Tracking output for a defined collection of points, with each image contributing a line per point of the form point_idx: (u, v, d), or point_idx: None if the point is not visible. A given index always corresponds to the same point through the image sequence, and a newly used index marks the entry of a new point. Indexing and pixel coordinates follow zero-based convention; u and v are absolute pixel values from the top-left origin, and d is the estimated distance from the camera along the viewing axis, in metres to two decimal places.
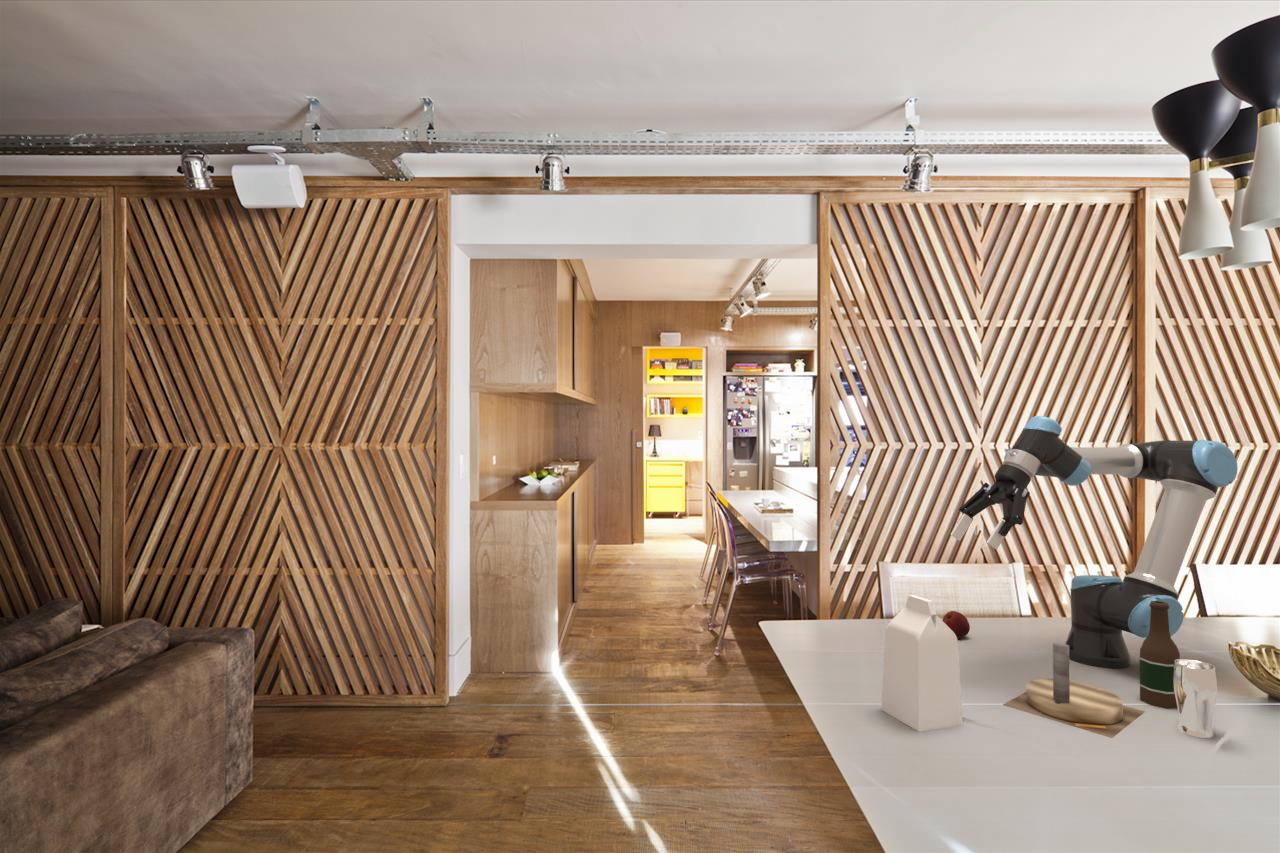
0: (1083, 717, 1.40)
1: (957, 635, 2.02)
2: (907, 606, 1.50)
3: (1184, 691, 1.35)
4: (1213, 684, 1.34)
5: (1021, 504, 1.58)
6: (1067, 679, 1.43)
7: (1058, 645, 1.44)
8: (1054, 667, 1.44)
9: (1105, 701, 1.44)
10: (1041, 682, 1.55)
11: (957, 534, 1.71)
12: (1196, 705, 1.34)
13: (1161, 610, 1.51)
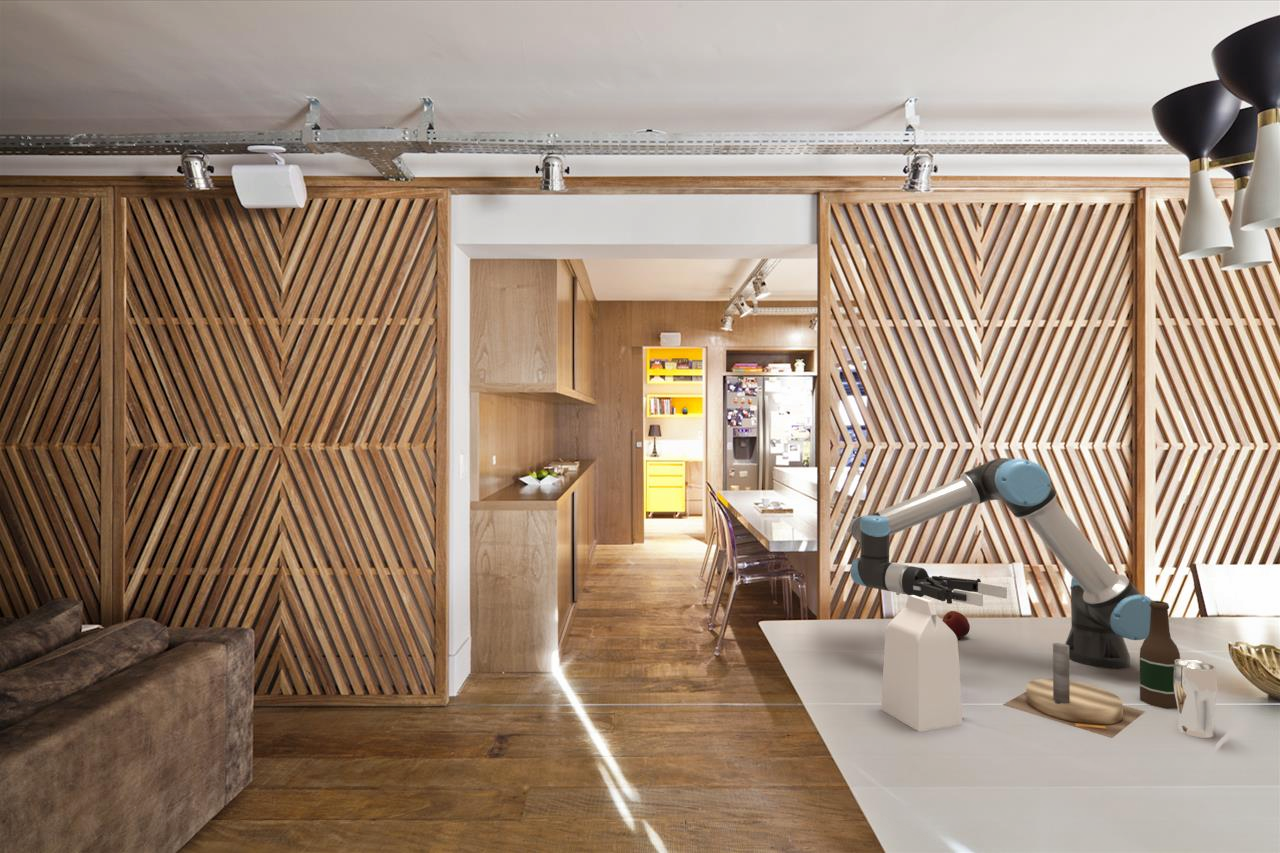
0: (1083, 717, 1.40)
1: (957, 635, 2.02)
2: (907, 606, 1.50)
3: (1184, 691, 1.35)
4: (1213, 684, 1.34)
5: (927, 590, 1.61)
6: (1067, 679, 1.43)
7: (1058, 645, 1.44)
8: (1054, 667, 1.44)
9: (1105, 701, 1.44)
10: (1041, 682, 1.55)
11: (1001, 593, 1.60)
12: (1196, 705, 1.34)
13: (1161, 610, 1.51)
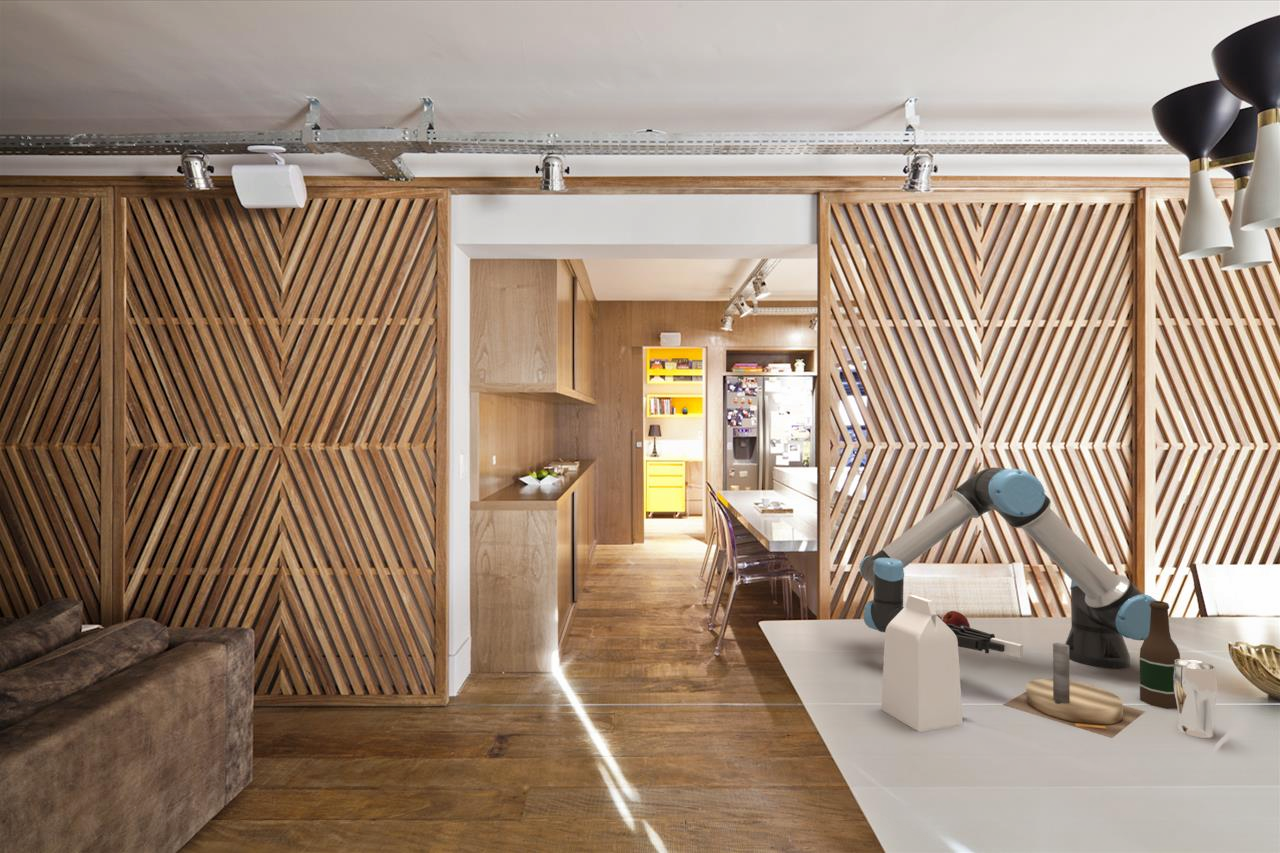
0: (1083, 717, 1.40)
1: None
2: (907, 606, 1.50)
3: (1184, 691, 1.35)
4: (1213, 684, 1.34)
5: None
6: (1067, 679, 1.43)
7: (1058, 645, 1.44)
8: (1054, 667, 1.44)
9: (1105, 701, 1.44)
10: (1041, 682, 1.55)
11: None
12: (1196, 704, 1.34)
13: (1161, 610, 1.51)
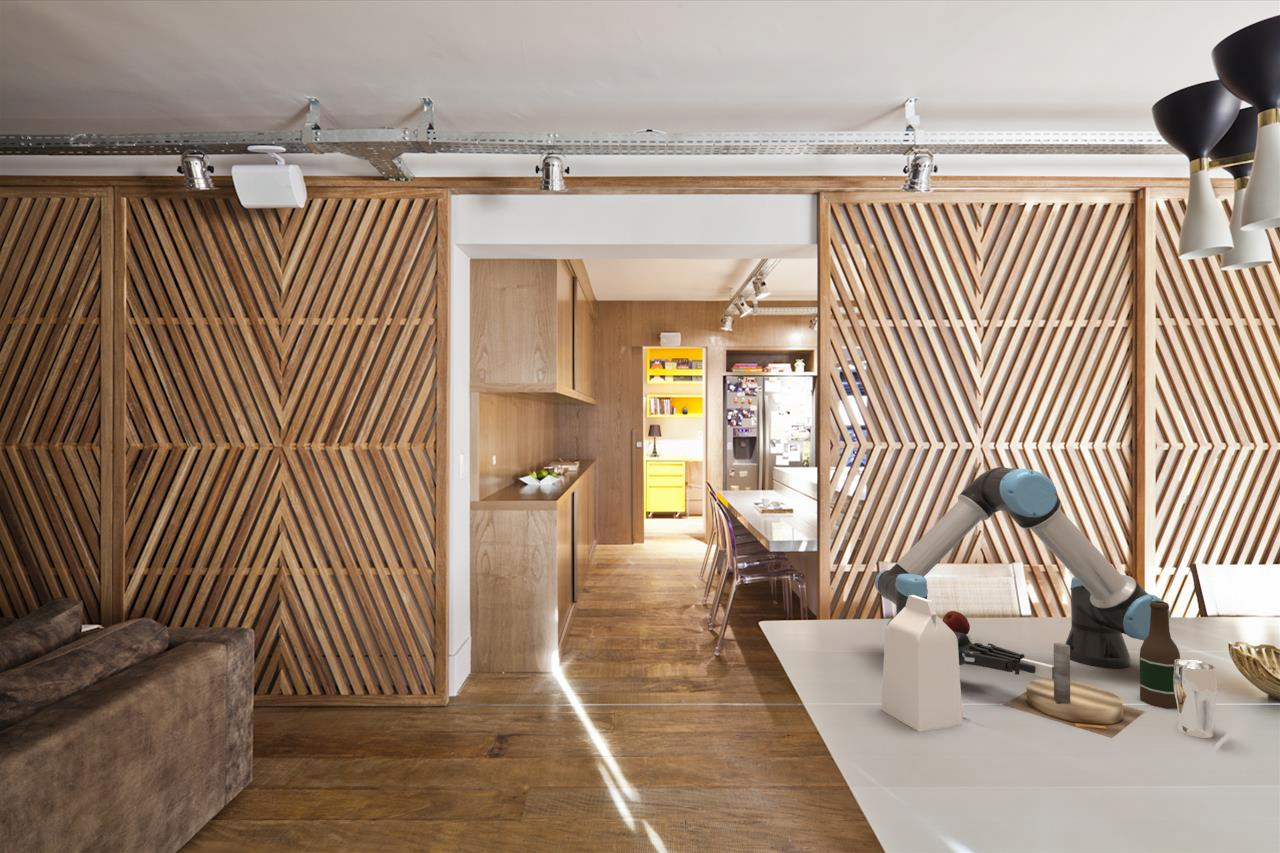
0: (1084, 718, 1.40)
1: None
2: (907, 606, 1.50)
3: (1184, 691, 1.35)
4: (1213, 684, 1.34)
5: (986, 661, 1.52)
6: (1068, 679, 1.43)
7: (1059, 645, 1.44)
8: (1055, 667, 1.44)
9: (1105, 701, 1.44)
10: (1041, 682, 1.55)
11: None
12: (1196, 705, 1.34)
13: (1161, 610, 1.51)
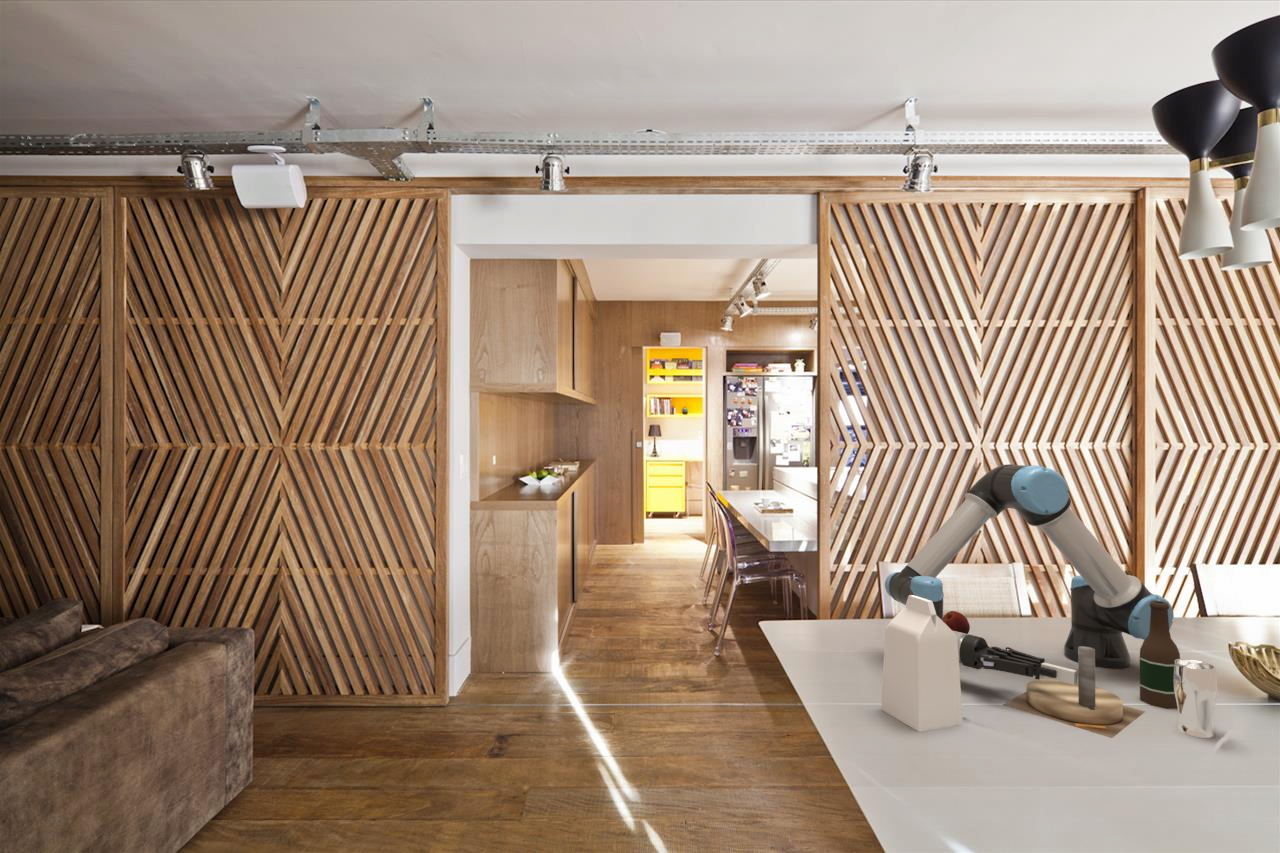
0: (1113, 718, 1.40)
1: None
2: (907, 606, 1.50)
3: (1184, 691, 1.35)
4: (1213, 684, 1.34)
5: (1006, 666, 1.49)
6: None
7: (1086, 649, 1.41)
8: (1084, 673, 1.41)
9: (1101, 694, 1.48)
10: (1035, 688, 1.51)
11: None
12: (1196, 704, 1.34)
13: (1161, 610, 1.51)
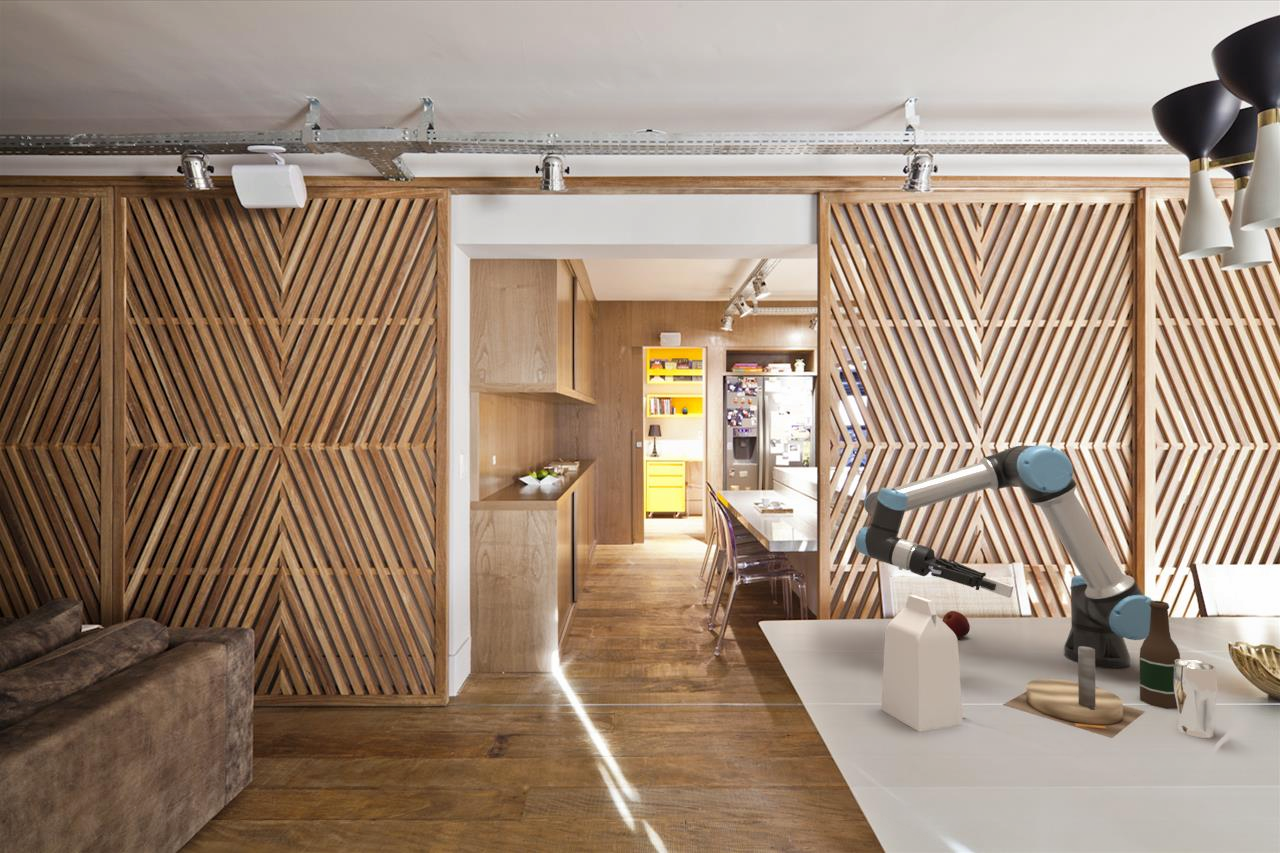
0: (1113, 718, 1.40)
1: (957, 635, 2.02)
2: (907, 606, 1.50)
3: (1184, 691, 1.35)
4: (1213, 684, 1.34)
5: (952, 575, 1.63)
6: None
7: (1086, 649, 1.41)
8: (1084, 673, 1.41)
9: (1101, 694, 1.48)
10: (1035, 688, 1.51)
11: None
12: (1196, 705, 1.34)
13: (1161, 610, 1.51)
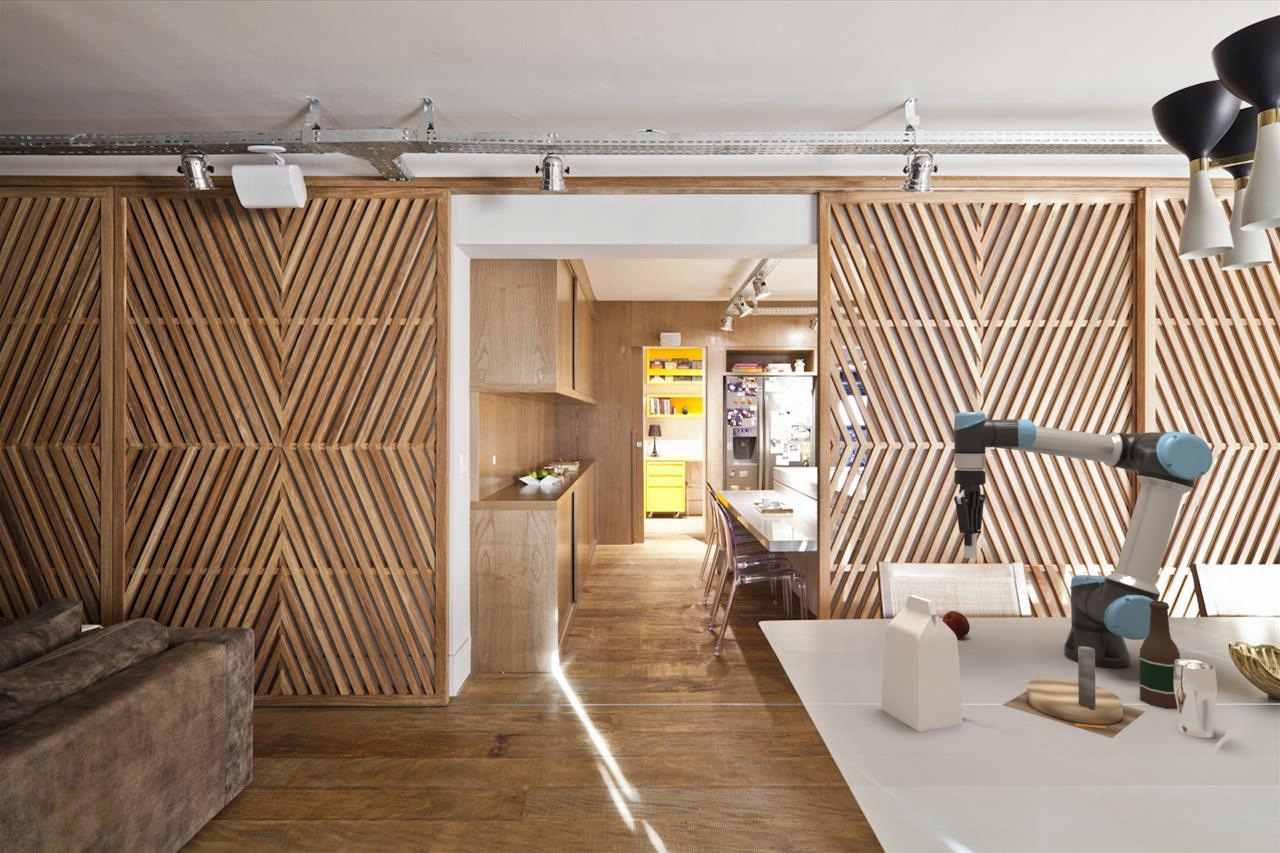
0: (1113, 718, 1.40)
1: (957, 635, 2.02)
2: (907, 606, 1.50)
3: (1184, 691, 1.35)
4: (1213, 684, 1.34)
5: (961, 513, 1.75)
6: None
7: (1086, 649, 1.41)
8: (1084, 673, 1.41)
9: (1101, 694, 1.48)
10: (1035, 688, 1.51)
11: None
12: (1196, 705, 1.34)
13: (1161, 610, 1.51)
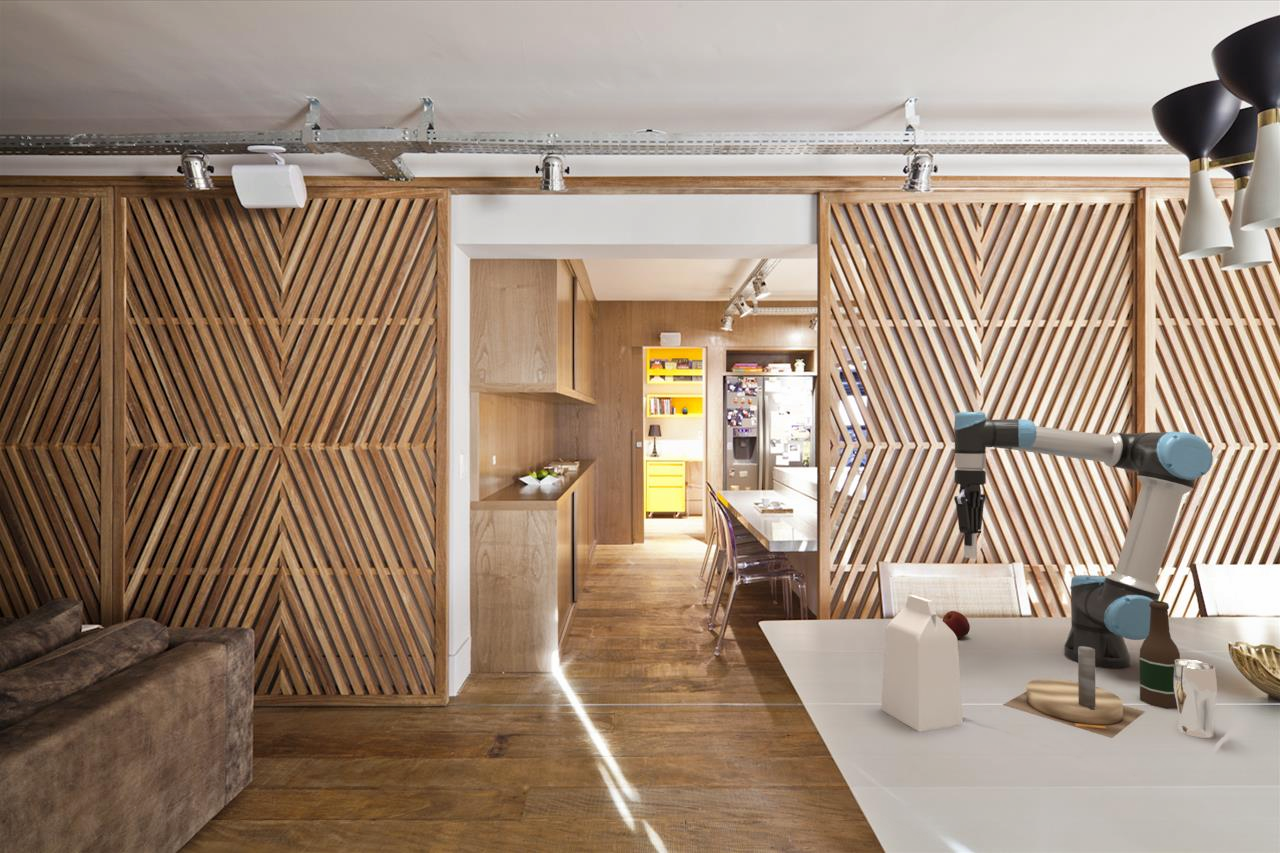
0: (1113, 718, 1.40)
1: (957, 635, 2.02)
2: (907, 606, 1.50)
3: (1184, 691, 1.35)
4: (1213, 684, 1.34)
5: (961, 513, 1.75)
6: None
7: (1086, 649, 1.41)
8: (1084, 673, 1.41)
9: (1101, 694, 1.48)
10: (1035, 688, 1.51)
11: None
12: (1196, 705, 1.34)
13: (1161, 610, 1.51)
